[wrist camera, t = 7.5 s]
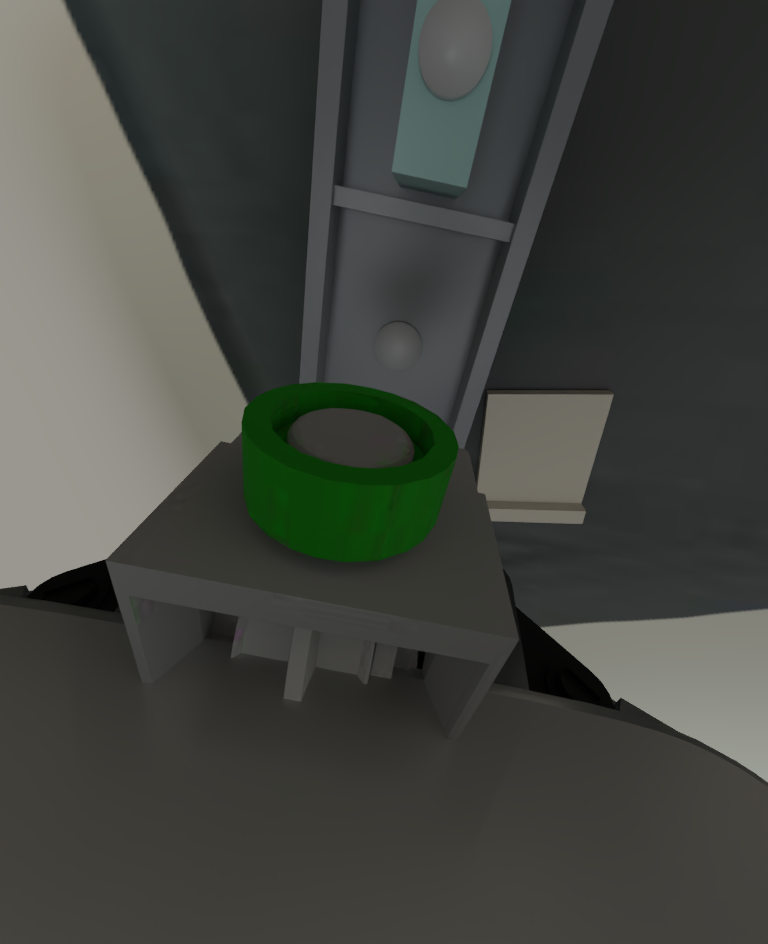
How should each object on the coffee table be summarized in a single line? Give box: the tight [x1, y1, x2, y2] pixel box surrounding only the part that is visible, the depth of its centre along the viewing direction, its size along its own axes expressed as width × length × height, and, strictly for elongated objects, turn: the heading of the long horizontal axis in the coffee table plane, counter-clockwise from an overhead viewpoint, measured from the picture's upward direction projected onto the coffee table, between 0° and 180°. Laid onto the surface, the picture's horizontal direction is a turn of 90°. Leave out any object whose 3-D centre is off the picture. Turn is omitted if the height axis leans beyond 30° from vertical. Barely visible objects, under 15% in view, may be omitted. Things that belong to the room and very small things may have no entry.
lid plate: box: [476, 390, 614, 524], centre depth 28 cm, size 10×8×2 cm
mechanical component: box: [105, 382, 519, 740], centre depth 9 cm, size 3×10×10 cm, turn 170°
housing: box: [299, 0, 614, 449], centre depth 19 cm, size 24×11×8 cm, turn 170°
